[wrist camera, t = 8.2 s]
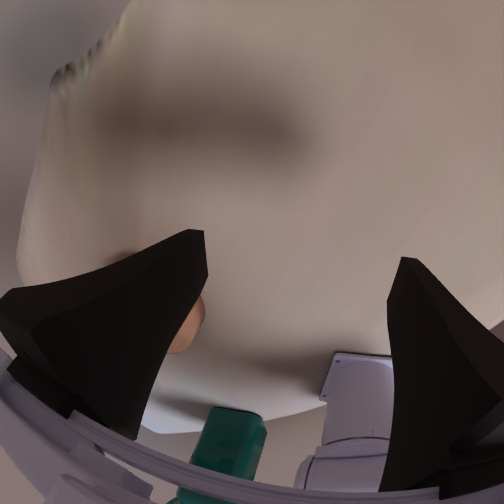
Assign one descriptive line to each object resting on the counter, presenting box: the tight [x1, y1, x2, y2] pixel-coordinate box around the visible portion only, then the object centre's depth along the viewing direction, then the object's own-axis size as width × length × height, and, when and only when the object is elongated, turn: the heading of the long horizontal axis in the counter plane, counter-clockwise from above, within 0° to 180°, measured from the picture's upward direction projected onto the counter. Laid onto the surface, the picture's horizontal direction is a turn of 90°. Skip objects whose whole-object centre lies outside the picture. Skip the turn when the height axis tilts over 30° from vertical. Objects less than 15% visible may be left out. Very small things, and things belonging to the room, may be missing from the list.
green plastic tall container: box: [167, 408, 267, 504], centre depth 31 cm, size 10×8×22 cm
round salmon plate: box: [166, 296, 205, 354], centre depth 27 cm, size 10×10×4 cm
